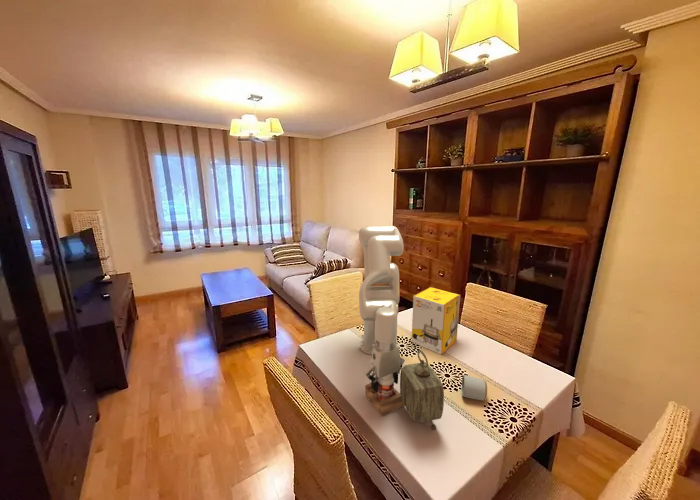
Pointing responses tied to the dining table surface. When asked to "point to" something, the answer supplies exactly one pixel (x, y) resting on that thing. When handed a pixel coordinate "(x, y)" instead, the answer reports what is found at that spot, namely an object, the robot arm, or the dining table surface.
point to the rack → (387, 404)
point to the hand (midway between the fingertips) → (384, 385)
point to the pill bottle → (385, 387)
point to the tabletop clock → (422, 391)
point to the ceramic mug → (474, 388)
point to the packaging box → (435, 319)
